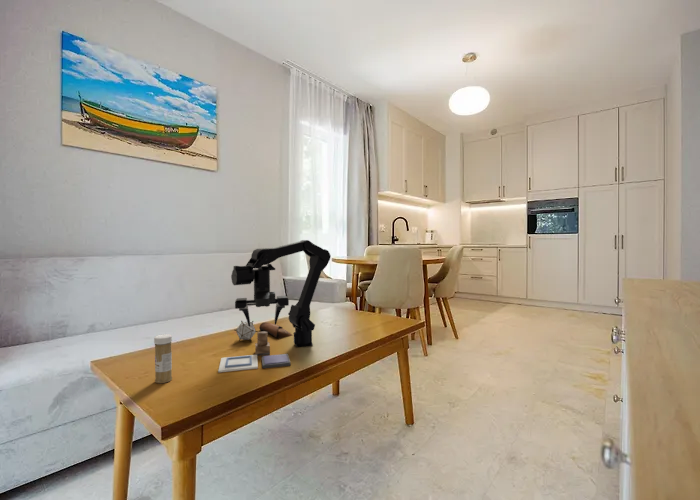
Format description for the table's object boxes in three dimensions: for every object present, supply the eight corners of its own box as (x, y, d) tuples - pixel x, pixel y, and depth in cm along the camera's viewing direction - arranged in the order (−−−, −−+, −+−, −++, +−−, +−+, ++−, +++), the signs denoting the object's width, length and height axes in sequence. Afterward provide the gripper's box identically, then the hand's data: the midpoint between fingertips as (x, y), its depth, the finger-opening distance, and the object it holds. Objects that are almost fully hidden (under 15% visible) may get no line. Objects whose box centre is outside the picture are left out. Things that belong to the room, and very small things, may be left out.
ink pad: (287, 356, 122) (287, 353, 122) (290, 365, 113) (290, 361, 113) (261, 359, 119) (261, 355, 119) (262, 368, 111) (262, 364, 111)
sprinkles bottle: (152, 381, 101) (151, 336, 101) (168, 376, 105) (167, 332, 104) (158, 385, 98) (157, 339, 98) (175, 380, 102) (174, 335, 101)
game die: (250, 348, 143) (265, 327, 145) (242, 347, 135) (258, 325, 137) (234, 336, 145) (249, 316, 147) (226, 334, 137) (241, 313, 139)
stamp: (269, 350, 129) (269, 330, 129) (269, 354, 124) (269, 334, 124) (255, 351, 127) (255, 331, 127) (255, 356, 123) (255, 335, 122)
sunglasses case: (294, 335, 148) (287, 323, 146) (282, 346, 145) (274, 334, 142) (275, 327, 162) (269, 316, 160) (263, 336, 159) (256, 325, 156)
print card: (257, 356, 122) (257, 353, 122) (257, 368, 111) (257, 365, 111) (221, 359, 119) (221, 356, 119) (218, 372, 107) (218, 369, 107)
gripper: (233, 287, 115) (234, 333, 115) (290, 284, 120) (290, 328, 120) (235, 283, 125) (236, 325, 126) (286, 281, 130) (287, 321, 131)
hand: (262, 325), depth 125 cm, fingers open, 9 cm apart
